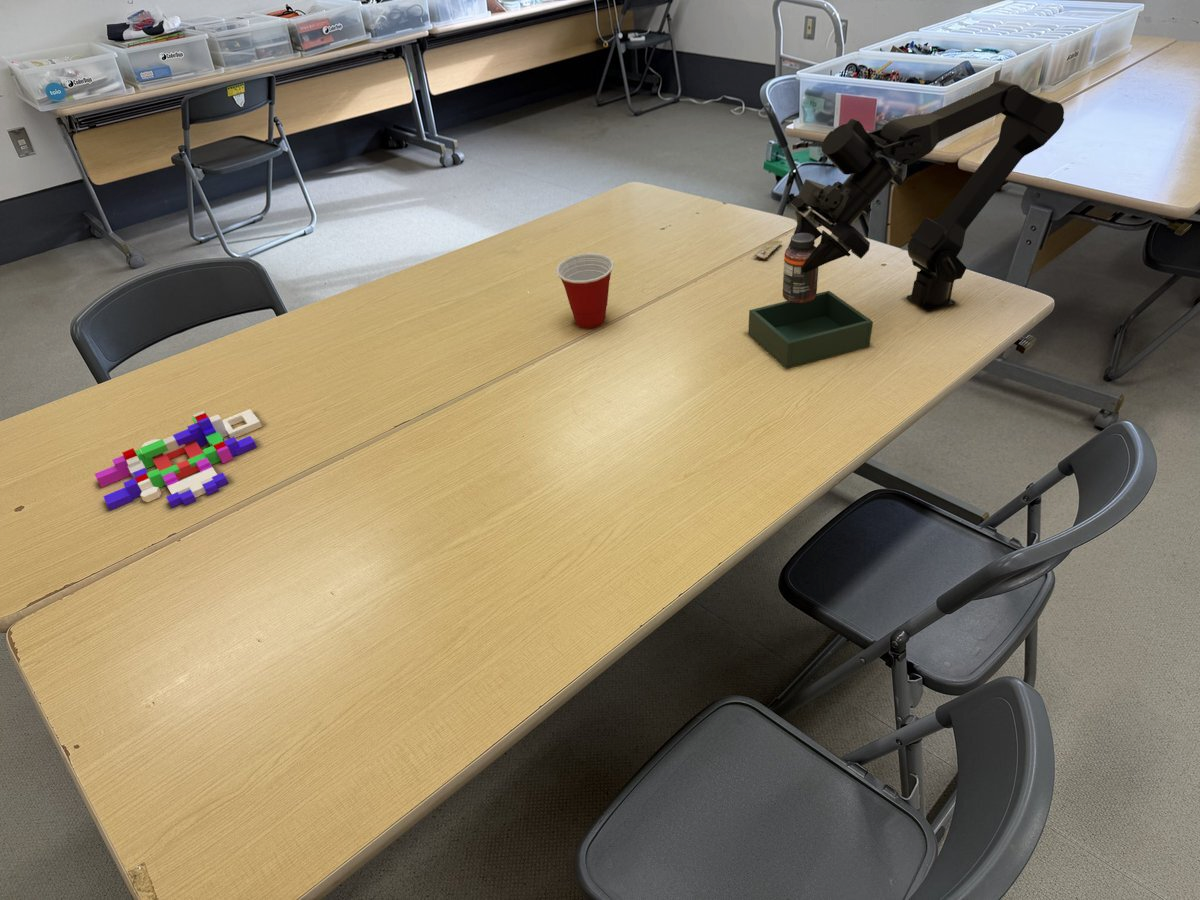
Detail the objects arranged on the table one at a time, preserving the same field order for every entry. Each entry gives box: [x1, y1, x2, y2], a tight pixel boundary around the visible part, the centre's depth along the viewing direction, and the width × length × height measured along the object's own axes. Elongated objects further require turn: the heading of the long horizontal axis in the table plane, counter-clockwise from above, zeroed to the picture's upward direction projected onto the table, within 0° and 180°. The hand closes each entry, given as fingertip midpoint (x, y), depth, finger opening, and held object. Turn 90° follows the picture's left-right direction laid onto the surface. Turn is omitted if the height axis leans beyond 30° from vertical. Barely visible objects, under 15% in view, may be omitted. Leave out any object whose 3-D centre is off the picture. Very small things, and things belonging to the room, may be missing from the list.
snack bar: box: [754, 240, 783, 260], centre depth 172 cm, size 10×2×3 cm
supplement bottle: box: [782, 233, 820, 303], centre depth 137 cm, size 6×6×11 cm
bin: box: [747, 290, 874, 369], centre depth 140 cm, size 17×14×5 cm
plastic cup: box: [555, 252, 615, 330], centre depth 149 cm, size 11×11×12 cm
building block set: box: [94, 408, 263, 511], centre depth 124 cm, size 25×20×4 cm
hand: (794, 264), depth 137 cm, fingers closed on supplement bottle, 6 cm apart
